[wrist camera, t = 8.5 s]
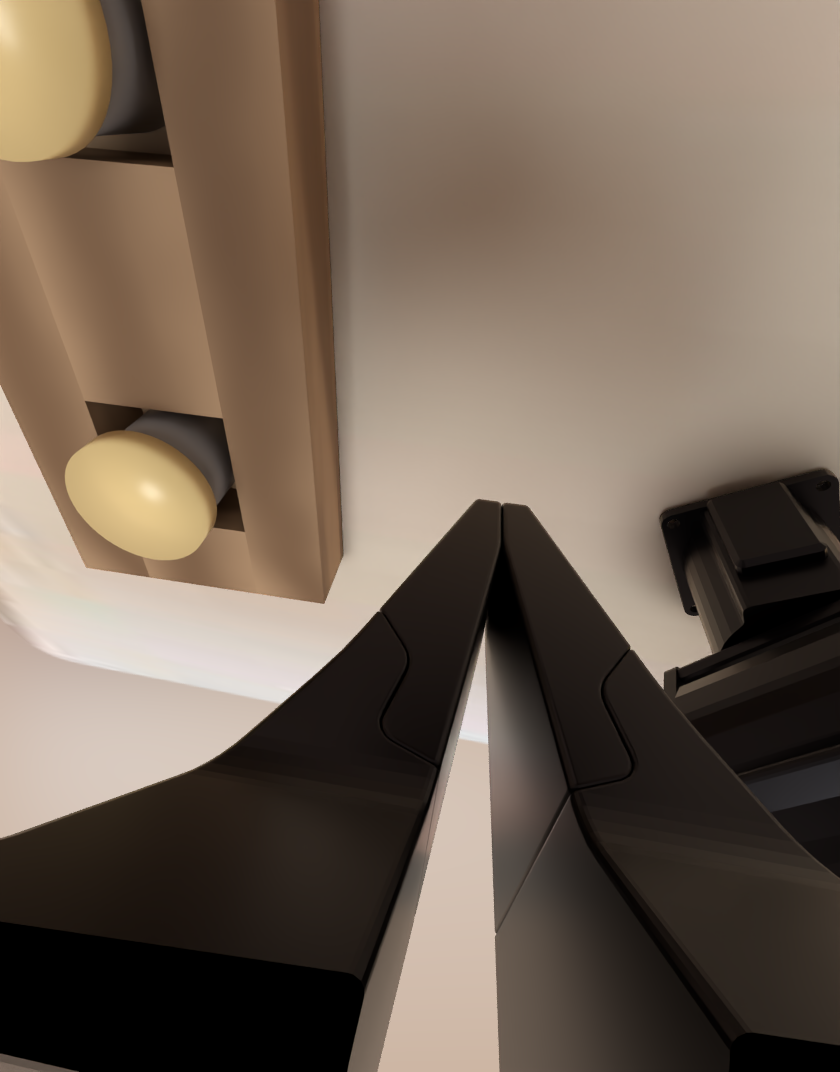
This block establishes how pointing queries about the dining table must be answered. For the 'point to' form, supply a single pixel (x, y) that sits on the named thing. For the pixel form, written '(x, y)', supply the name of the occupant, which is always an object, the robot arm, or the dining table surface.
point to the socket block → (192, 292)
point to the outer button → (73, 76)
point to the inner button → (153, 483)
